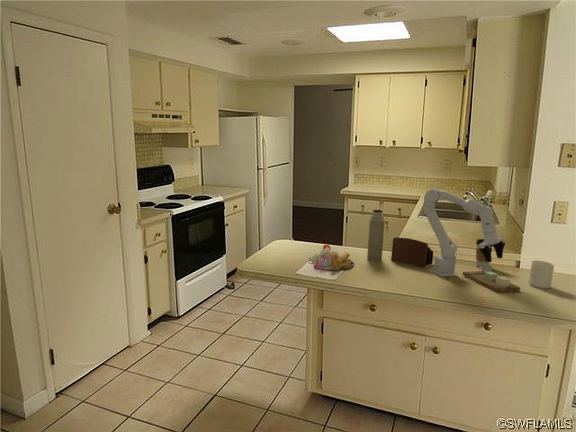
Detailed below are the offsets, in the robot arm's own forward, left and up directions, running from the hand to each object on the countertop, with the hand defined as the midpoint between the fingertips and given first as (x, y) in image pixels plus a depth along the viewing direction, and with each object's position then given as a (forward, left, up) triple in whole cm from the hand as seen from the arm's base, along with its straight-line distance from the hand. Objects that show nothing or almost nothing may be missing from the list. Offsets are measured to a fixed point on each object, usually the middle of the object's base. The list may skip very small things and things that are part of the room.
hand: (494, 259), depth 189 cm
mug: (+20, -7, -11) cm, 23 cm away
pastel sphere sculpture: (-69, +36, -11) cm, 79 cm away
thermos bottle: (-41, +42, -11) cm, 60 cm away
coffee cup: (+13, +23, -11) cm, 29 cm away
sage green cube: (-2, -2, -9) cm, 10 cm away
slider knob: (+2, +6, -8) cm, 11 cm away
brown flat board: (-2, -2, -11) cm, 11 cm away
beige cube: (-2, -10, -9) cm, 14 cm away
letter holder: (-23, +35, -11) cm, 43 cm away
